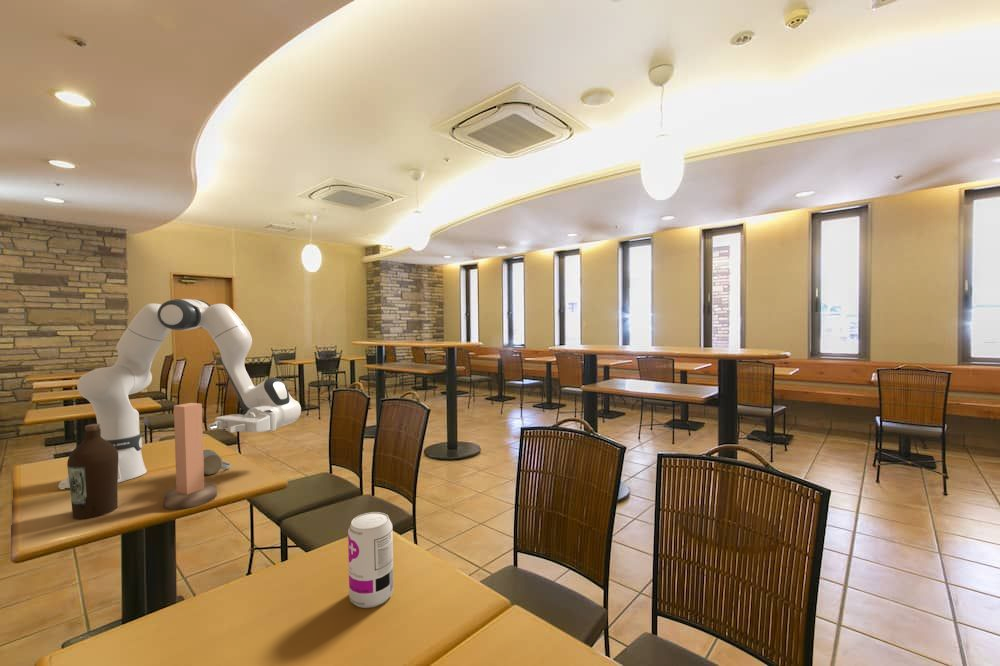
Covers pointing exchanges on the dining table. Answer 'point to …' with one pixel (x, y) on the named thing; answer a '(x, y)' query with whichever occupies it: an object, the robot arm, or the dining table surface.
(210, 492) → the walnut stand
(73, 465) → the olive oil
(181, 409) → the terracotta post
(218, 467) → the ceramic mug
